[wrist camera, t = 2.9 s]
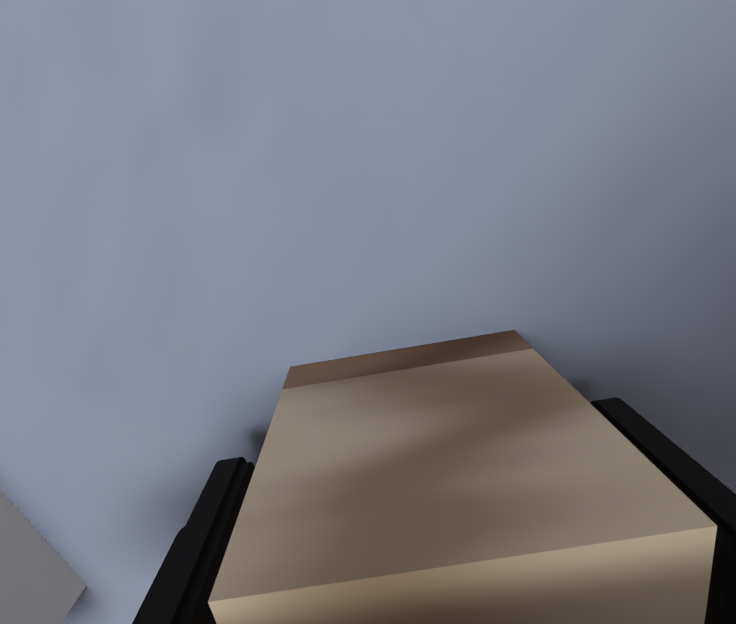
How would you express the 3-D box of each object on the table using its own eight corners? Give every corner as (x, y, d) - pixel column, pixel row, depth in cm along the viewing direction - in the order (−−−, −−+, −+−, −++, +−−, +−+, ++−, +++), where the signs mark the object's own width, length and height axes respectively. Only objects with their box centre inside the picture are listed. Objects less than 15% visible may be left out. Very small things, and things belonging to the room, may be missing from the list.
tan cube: (513, 329, 10) (717, 526, 4) (523, 507, 12) (679, 814, 6) (290, 365, 10) (208, 602, 5) (333, 536, 12) (312, 862, 6)
